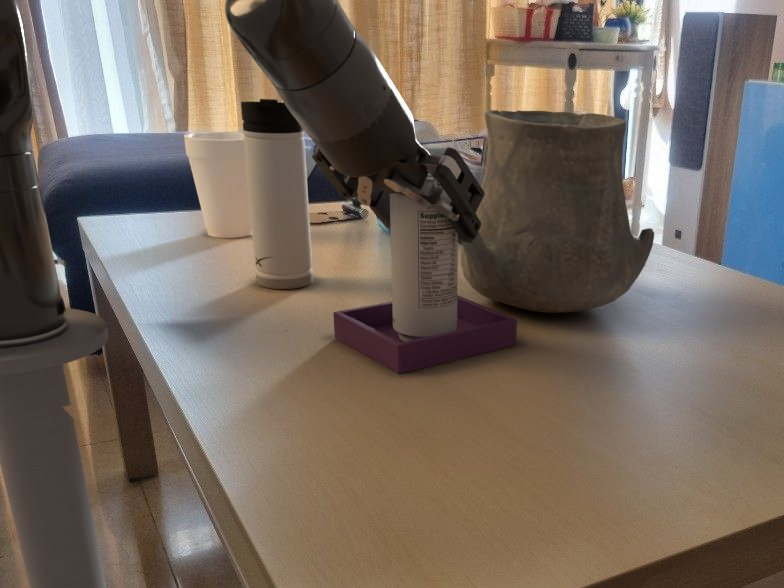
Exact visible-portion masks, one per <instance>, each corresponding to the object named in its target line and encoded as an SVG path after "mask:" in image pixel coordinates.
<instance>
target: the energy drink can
mask: <svg viewBox="0 0 784 588" xmlns="http://www.w3.org/2000/svg"><path fill="white" fill-rule="evenodd" d="M433 183H434V178H433V176H432V175H431V174H429V173H428V176H427V179H426V181H425V183H424V185H423V187H422V189H421V191H422V192H423V193H425V194H426V195H428V193H429V191H430V189H431V187H432V185H433ZM441 199H442V200H443V201H445V202H446V203H447V204H449V205H450V203H451V199H450V198H449V197H448V195H447V194H446V192H445V191H444V190H443V192H442V194H441ZM390 228H391V229H390V262H391V264H390V266H391V267H390V268H391V302H392V308H393V328H394V329H395V330H396V331H397V332H398V333H399V338H400V339H401V340H403V341H405V342H406V341H411V340H415V339H420V338H424V337H429V336H433V335H438V334H443V333H447V332H452V331H455V330H456V329H457V295H458V283H459V282H458V279H459V278H458V273H459V272H458V271H459V269H458V264H459V258H458V257H459V235H458V234H457V232H456V231H455V229H454V228H453V226H452V225H451V223H450V222H449V220H448V217H446V216H445V215H443V214H442V213H441V212H439V211H438V210H436V209H435V208H430V209H425V208H424V207H422V206H421V205H419V204H418V203H417V202H415V201H414V200H412V199H411V198H409V197H408V196H405V195H402V194H399V193H392V194H391V193H390Z"/></svg>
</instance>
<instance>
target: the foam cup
mask: <svg viewBox="0 0 784 588" xmlns="http://www.w3.org/2000/svg"><path fill="white" fill-rule="evenodd" d="M244 136H245V135H244V134H243V132H234V131H233V132H231V131H230V132H229V131H228V132H227V131H205V132H203V131H202V132H190V133H186V134H183V137H184V138H183V139H184V148H185V156H187V157H188V162H189V165H190V170H191V173H192V174H191V175H192V177H193V181H194V185H195V189H196V193H197V197H198V201H199V205H200V209H201V213H202V218H203V221H204V226H205V229H206V231H207V236H210V237H213V238H221V239H235V238H245V237H249V236H252V227H251V216H250V205H249V194H248V183H247V172H246V161H245V150H244V139H243V138H244Z"/></svg>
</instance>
